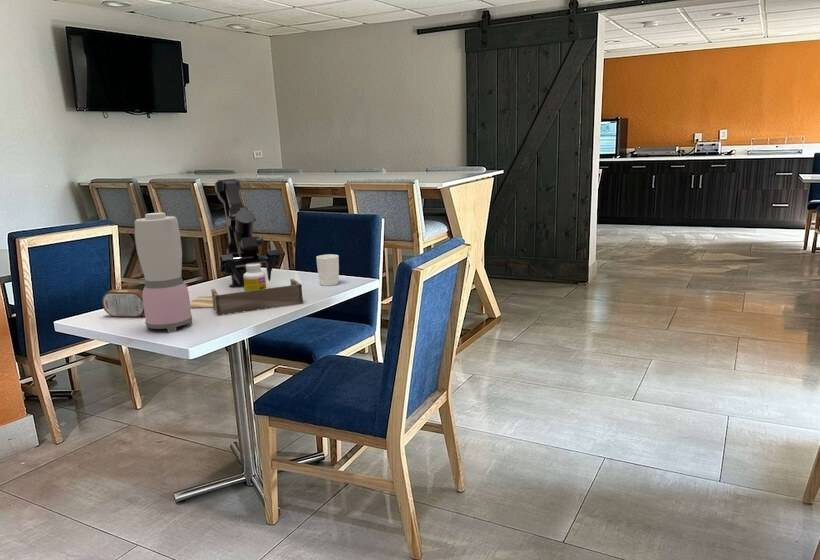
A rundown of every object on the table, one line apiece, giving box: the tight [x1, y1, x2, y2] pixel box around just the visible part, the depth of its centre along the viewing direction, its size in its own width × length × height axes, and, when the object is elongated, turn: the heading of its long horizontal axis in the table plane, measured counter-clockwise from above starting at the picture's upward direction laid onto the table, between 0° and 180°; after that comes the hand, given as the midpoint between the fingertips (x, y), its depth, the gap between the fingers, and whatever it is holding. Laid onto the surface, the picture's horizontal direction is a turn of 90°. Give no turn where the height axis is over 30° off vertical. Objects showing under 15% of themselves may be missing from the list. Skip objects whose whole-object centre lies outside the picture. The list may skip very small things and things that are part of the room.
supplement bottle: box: [243, 262, 267, 291], centre depth 196 cm, size 7×7×13 cm
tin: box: [101, 288, 145, 318], centre depth 188 cm, size 15×3×8 cm, turn 78°
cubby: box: [211, 278, 304, 316], centre depth 194 cm, size 10×26×6 cm, turn 114°
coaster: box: [190, 295, 213, 309], centre depth 201 cm, size 14×14×1 cm
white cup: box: [315, 253, 340, 287], centre depth 221 cm, size 8×8×10 cm
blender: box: [133, 212, 193, 333], centre depth 173 cm, size 16×12×32 cm
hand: (255, 281), depth 195 cm, fingers open, 9 cm apart
